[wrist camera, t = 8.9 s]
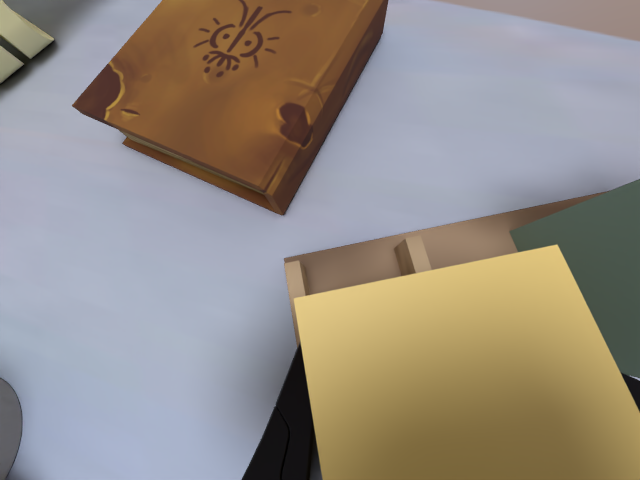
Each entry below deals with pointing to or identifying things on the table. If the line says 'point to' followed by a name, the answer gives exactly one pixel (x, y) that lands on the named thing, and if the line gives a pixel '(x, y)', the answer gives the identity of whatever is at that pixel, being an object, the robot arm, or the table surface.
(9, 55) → the slatted curved stool
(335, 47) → the diary
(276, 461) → the robot arm
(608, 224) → the book row
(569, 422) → the pale yellow cuboid
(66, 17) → the table surface
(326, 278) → the shelf slot board
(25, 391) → the table surface
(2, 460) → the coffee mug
